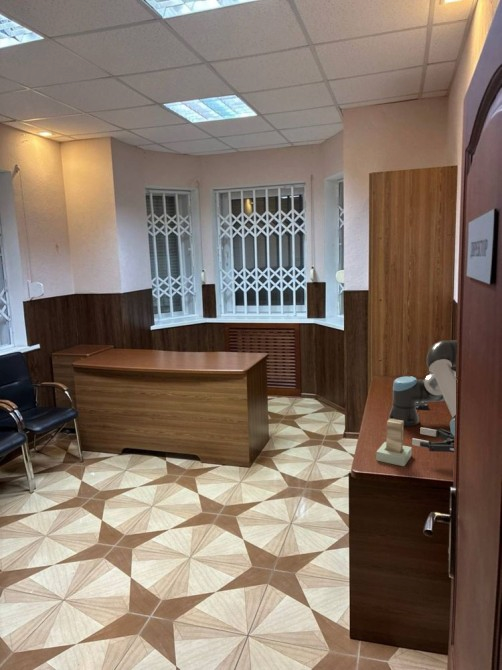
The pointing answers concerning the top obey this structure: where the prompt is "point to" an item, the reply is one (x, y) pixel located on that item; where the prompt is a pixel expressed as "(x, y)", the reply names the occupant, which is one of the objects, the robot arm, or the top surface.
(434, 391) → the robot arm
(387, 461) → the end cap
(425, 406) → the disk drive
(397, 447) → the wooden block
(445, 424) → the top surface
